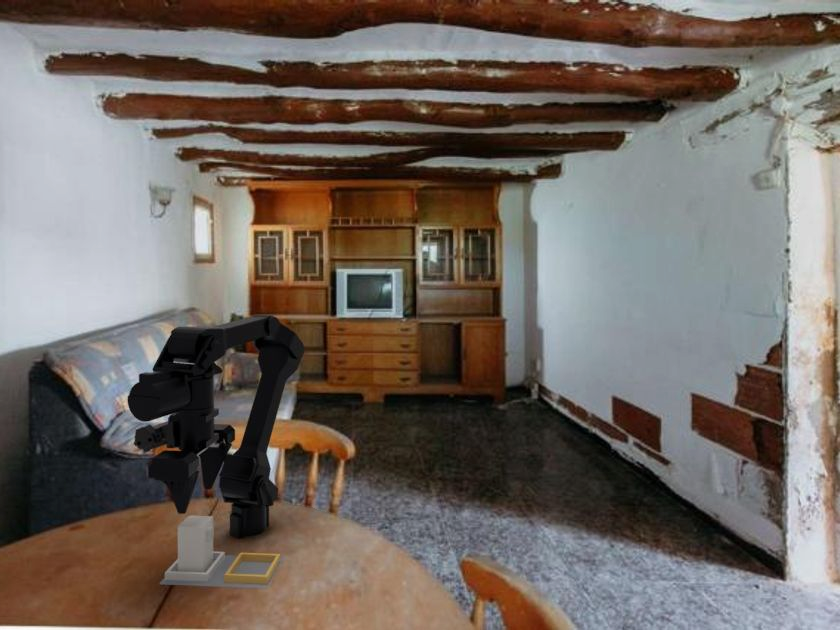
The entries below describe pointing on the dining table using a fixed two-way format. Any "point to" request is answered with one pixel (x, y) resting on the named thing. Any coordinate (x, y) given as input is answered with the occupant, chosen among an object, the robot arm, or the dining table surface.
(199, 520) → the plug
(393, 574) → the dining table surface
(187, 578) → the socket panel
